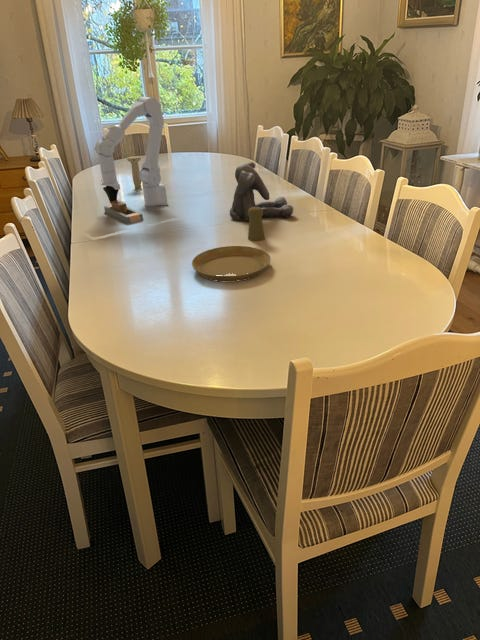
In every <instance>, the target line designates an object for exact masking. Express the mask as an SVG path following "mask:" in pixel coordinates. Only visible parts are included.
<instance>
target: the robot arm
mask: <svg viewBox="0 0 480 640" xmlns="http://www.w3.org/2000/svg"><path fill="white" fill-rule="evenodd" d="M143 116H144V117H146V119H147V121H148V122H149V128H148V129H149V130H148V138H147V143H146V144H147V145H146V153H145V159H144V162H143V163H142V164H141V169H139V171H140V172H139V179H140V181H141V187H142V191H143V192H142V193H143V199H144V201H143V202H144V205H145V206H147V207H153V206H159V205H162V206H168V205H169V203H168V197H167V196H168V194H167V189H166V186H165V184H163V183H161V181H162V176H161V167H160V165H159V158H160V157H159V156H160V152H161V143H162V135H163V129H164V123H165V122H164V116H163V113H162V105H161V102H159V101H158V99H157V98H155V97H153V96H152V97H147V96H139V97H138V98H137V99H136V101H134V102H133V103H132V105H131V107H130V108H129V109H128V110H127V112H126V114H125V115H124V116H123V117H122V118H121V120H120V121H119V123H118V124H114V125H110V126H109V127H108V129H109V130H108V131H107V132H106V133H105V135H102V136H101V139H99V140H98V141H96V143H95V147H94V150H95V152H96V154H98V161H99V167H100V173H101V179H100V186H104V187H102V189H103V191H104V193H105V194H106V196H107V199H108V201H109V204H111V201H116V200H118V194H119V190H121V185H120V183H119V181H118V180H117V179H118V178H117V173H116V167H115V160H114V155H113V154H114V153H115V148H116V147H117V145H119V144H120V142H121V141H122V140H123V138H124V137H125V135H126V132H125V131H126V130H127V129H128V128H129V127H130V126H131V124H132V123H134V121H136V119H137V118H139V117H143Z"/></svg>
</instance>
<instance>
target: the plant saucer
mask: <svg viewBox="0 0 480 640" xmlns="http://www.w3.org/2000/svg"><path fill="white" fill-rule="evenodd" d="M271 259H272V258H271V256H270V254H269V253H268V252H266V251H264V250H262V249H260V248H257V247H253V246H244V245H229V246H228V245H227V246H220V247H214V248H211V249H207V250H205V251H202V252H200V253H199V254H197V255H196V256H195V257H194V258H193V259H192V261H191V266H192V267H193V270H194V271H195V272H196V273H197V274H198V275H200V276H202V277H204V278H205V279H207V278H208V279H207V280H210V279H211V280H210V281H213V280H217V281H216V282H220V281H235V282H238V281H237V280H242V281H245V280H244V279H247V280H249V279H248V278H250V279H252V277H253V278H255V277H256V276H258V275H261V274H262V273H263V272H264V271H265V270H266V269H267V268H268V267H269V265H270V263H271ZM229 273H230V274H232V273H233V274H236V276H224V275H226V274H229ZM247 273H248V274H247ZM216 275H223V276H216ZM254 276H255V277H254Z"/></svg>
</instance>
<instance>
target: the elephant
mask: <svg viewBox="0 0 480 640" xmlns="http://www.w3.org/2000/svg"><path fill="white" fill-rule="evenodd" d="M255 168H256V163H255V162H254V161H250V162H247V163H242V164H240V165H238V166H237V167H236V169H235V172H234V177H235V179H236V180H235V181H236V183H237V185H236V187H235V189H234V195H233V201H232V204H231V207H230V209H229V216H230V218H231V219H232V220H233V221H236V222H237V221H238V222H247V223H249V221H250V217H249V215H248V210H249V209H250V208H251V207H260V208H262V210H263V215H262V219H263V218H289V217H291V216H292V215H293V213H294V207H293V205H291V204H288V201H287V200H286V198H285V197H284V196H279V197H278V198H276V199H275V200H274V201H270V192H269V190H268V188H267V186H266V184H265V183H264V180H263V178H261V175H260V174H259V173H258V172H257V171H256V170H255ZM254 191H257V193H259V194H260V197H261V198H262V199H264V200H265V201H261V202H258V203H256V201H255V193H254Z"/></svg>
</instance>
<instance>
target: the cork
mask: <svg viewBox="0 0 480 640" xmlns="http://www.w3.org/2000/svg"><path fill="white" fill-rule="evenodd" d="M248 215H249V217H250V221H249V222H248V232H247V240H248V241H251V242H252V241H253V242H260V241H263V240H265V239H266V235H265V230H264V225H263V218H262V215H263V210H262V208H260V207H251V208H250V209H249V210H248Z"/></svg>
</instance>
